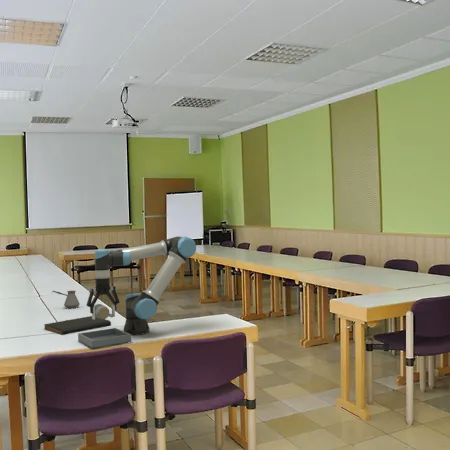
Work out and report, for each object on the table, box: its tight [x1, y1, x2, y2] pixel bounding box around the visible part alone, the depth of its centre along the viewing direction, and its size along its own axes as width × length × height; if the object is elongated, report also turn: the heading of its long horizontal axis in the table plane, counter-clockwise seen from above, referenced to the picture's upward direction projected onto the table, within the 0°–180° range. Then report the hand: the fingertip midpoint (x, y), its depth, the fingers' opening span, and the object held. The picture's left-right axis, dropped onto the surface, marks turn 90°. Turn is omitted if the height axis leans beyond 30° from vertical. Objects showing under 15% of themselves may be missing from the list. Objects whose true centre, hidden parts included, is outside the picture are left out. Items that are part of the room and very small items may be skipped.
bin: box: [77, 327, 132, 350], centre depth 285 cm, size 22×22×4 cm
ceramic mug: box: [94, 303, 114, 320], centre depth 285 cm, size 11×8×8 cm
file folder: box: [43, 315, 112, 336], centre depth 326 cm, size 33×4×24 cm
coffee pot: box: [50, 290, 80, 310], centre depth 395 cm, size 21×12×15 cm, turn 132°
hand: (103, 317), depth 285 cm, fingers closed on ceramic mug, 11 cm apart
